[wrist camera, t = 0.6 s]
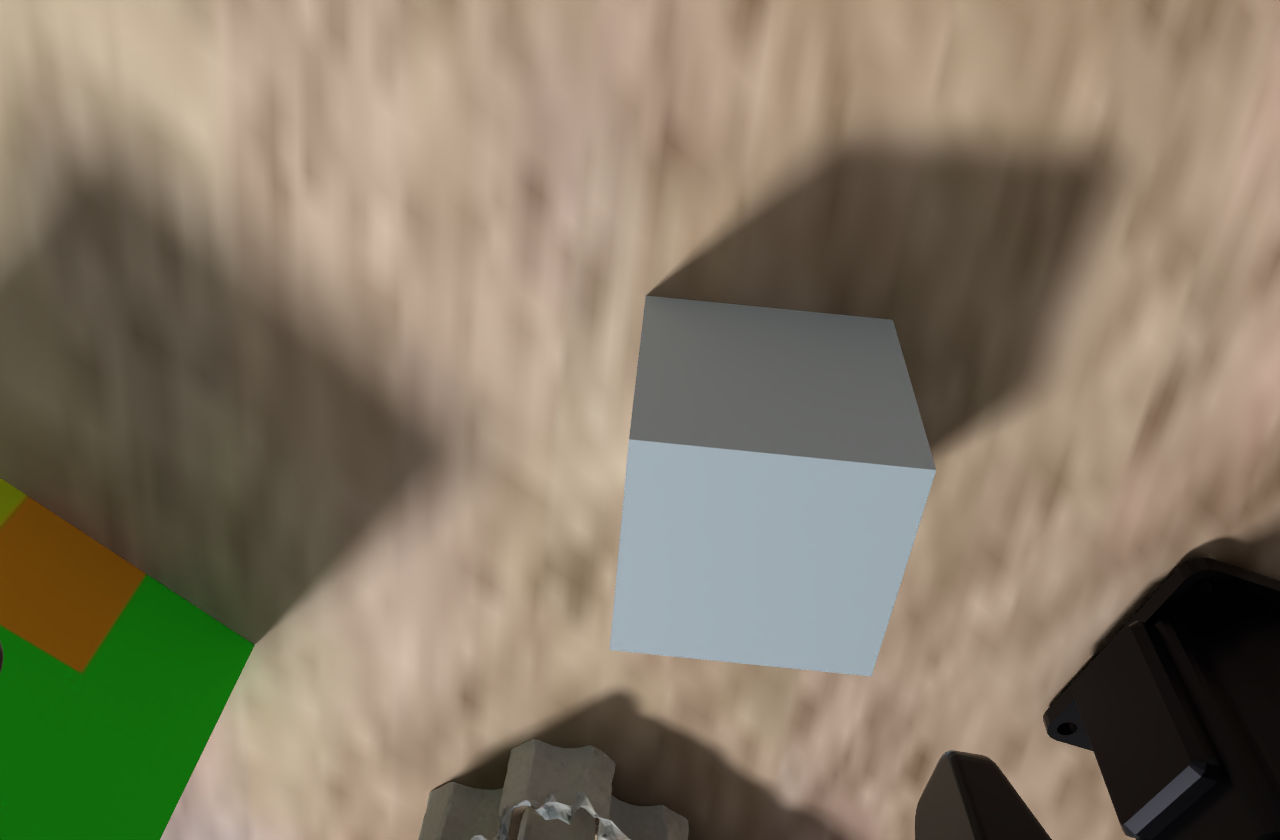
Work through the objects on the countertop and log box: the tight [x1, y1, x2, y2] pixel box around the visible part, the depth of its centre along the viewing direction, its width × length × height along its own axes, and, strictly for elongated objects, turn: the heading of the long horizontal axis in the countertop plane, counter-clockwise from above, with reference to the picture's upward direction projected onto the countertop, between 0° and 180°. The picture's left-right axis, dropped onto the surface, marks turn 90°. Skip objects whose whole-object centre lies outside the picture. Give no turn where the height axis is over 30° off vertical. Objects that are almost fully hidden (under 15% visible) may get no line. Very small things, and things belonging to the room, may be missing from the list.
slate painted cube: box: [610, 295, 936, 676], centre depth 20 cm, size 5×5×5 cm
